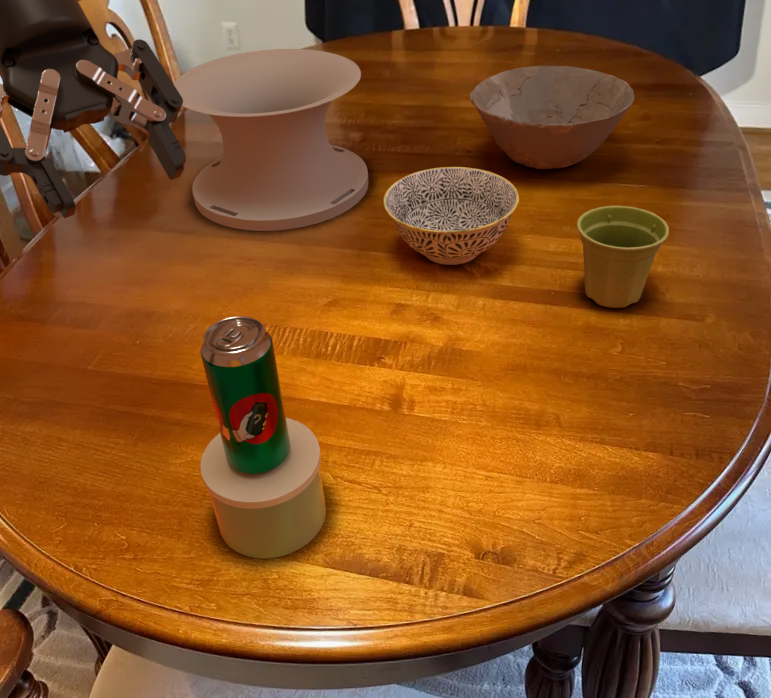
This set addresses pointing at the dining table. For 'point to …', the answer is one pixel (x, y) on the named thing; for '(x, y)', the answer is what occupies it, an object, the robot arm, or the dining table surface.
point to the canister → (268, 498)
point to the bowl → (451, 211)
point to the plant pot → (619, 252)
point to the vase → (274, 139)
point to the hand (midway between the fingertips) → (126, 192)
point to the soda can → (246, 394)
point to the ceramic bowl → (551, 112)
